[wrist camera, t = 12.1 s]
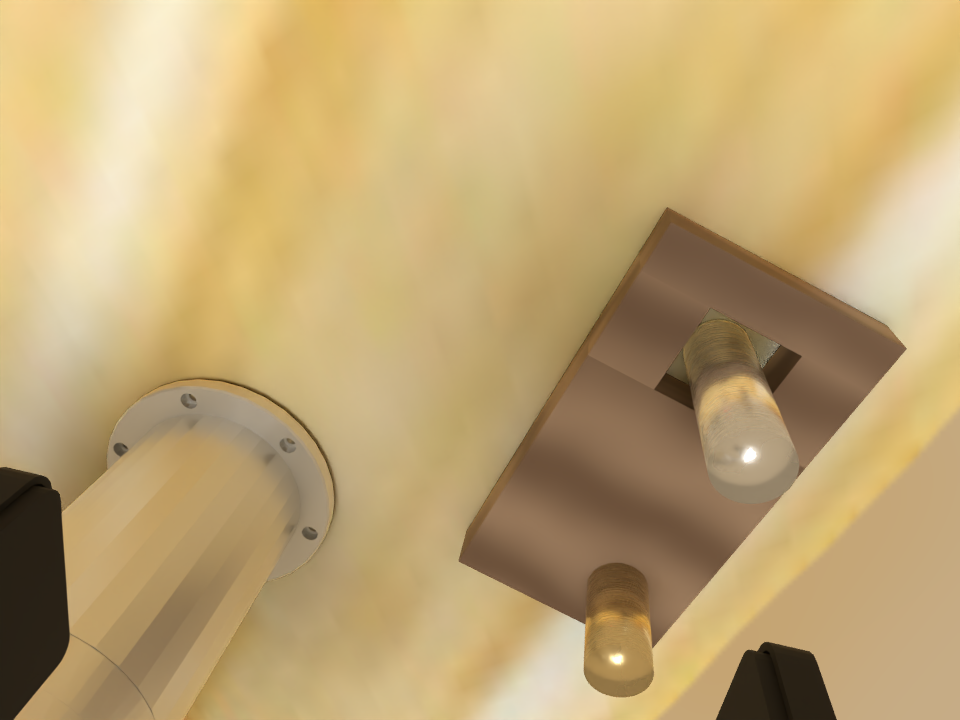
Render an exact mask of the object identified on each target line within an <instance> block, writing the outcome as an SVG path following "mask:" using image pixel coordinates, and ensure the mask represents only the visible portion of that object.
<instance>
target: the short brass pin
mask: <svg viewBox="0 0 960 720" xmlns="http://www.w3.org/2000/svg"><path fill="white" fill-rule="evenodd" d="M584 675H585V677H586V679H587V681H588V682H589V684H590V685H591V686H592V687H593V688H595V689H596V690H597V691H599V692H601V693H603V694H606V695H609V696H613V697H630V696H634V695H637V694H639V693H641V692H643V691H644V690H645V689H647V688H648V687H649V685H650V684H651V682H652V680H653V675H654V671H653V655H652V640H651V624H650V609H649V593H648V583H647V580H646V578H645V577H644V575H643V574H642V573H641V572H640V571H639V570H638V569H636V568H634V567H632V566H630V565H627V564H623V563H608V564H605V565H602V566H600V567H598V568H597V569H595V570H594V571H593V572H592V573H591V575H590V576H589V578H588V582H587V601H586V626H585V650H584Z"/></svg>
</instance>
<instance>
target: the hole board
mask: <svg viewBox="0 0 960 720" xmlns="http://www.w3.org/2000/svg"><path fill="white" fill-rule="evenodd" d="M710 308H712V309H714V310H716V311H718V312H720V313H722V314H724V315H725V316H727V317H729V318H731V319H733V320H735V321H737V322H739V323H741V324H742V325H744V326H746V327H748V328H750V329H752V330H754V331H756V332H757V333H759V334H761V335H763V336H765V337H767V338H769V339H771V340H773V341H774V342H776V343H778V344H780V345H781V346H780V347H779V348H778V350H777V351H776V352H775V354H774V355H773V356H772V358H771V359H770V360H769V361H768V363H767V364H766V365H765V367H764V368H763V369H762V370H763V373H764V375H765V378H766V380H767V382H768V385H769V387H770V390H771V392H772V394H773V397H774V399H775V402H776V404H777V406H778V409H779V411H780V414H781V416H782V419H783V421H784V423H785V426H786V428H787V431H788V433H789V435H790V438H791V440H792V443H793V445H794V447H795V450H796V452H797V455H798V459H799V471H798V475H797V477H798V476H799V475H800V474H801V473H802V471H803V470H804V469H805V468H806V467H807V466H808V464H809V463H810V462H811V461H812V460H813V459H814V457H815V456H816V455H817V454H818V453H819V451H820V450H821V449H822V448H823V447H824V446H825V444H826V443H827V442H828V441H829V440H830V439H831V437H832V436H833V435H834V434H835V433H836V431H837V430H838V429H839V428H840V427H841V426H842V424H843V423H844V422H845V421H846V420H847V418H848V417H849V416H850V415H851V414H852V413H853V411H854V410H855V409H856V408H857V407H858V406H859V404H860V403H861V402H862V401H863V400H864V398H865V397H866V396H867V395H868V394H869V393H870V391H871V390H872V389H873V388H874V387H875V385H876V384H877V383H878V382H879V381H880V380H881V378H882V377H883V376H884V375H885V374H886V373H887V371H888V370H889V369H890V368H891V367H892V365H893V364H894V363H895V362H896V361H897V360H898V358H899V357H900V356H901V355H902V354H903V352H904V351H905V350H906V349H907V348H906V347H905V346H904V345H903V344H902V343H901V341H900V340H899V339H898V338H897V337H896V336H895V334H894V333H893V332H892V331H891V330H890V329H889V327H888V326H887V325H885V324H883V323H881V322H879V321H877V320H875V319H873V318H872V317H870V316H868V315H866V314H864V313H862V312H860V311H859V310H857V309H855V308H853V307H851V306H849V305H847V304H846V303H844V302H842V301H840V300H838V299H836V298H834V297H833V296H831V295H829V294H827V293H825V292H823V291H821V290H820V289H818V288H816V287H814V286H812V285H810V284H808V283H807V282H805V281H803V280H801V279H799V278H797V277H795V276H794V275H792V274H790V273H788V272H786V271H784V270H782V269H781V268H779V267H777V266H775V265H773V264H771V263H769V262H768V261H766V260H764V259H762V258H760V257H758V256H756V255H755V254H753V253H751V252H749V251H747V250H745V249H743V248H742V247H740V246H738V245H736V244H734V243H732V242H730V241H729V240H727V239H725V238H723V237H721V236H719V235H717V234H716V233H714V232H712V231H710V230H708V229H706V228H704V227H703V226H701V225H699V224H697V223H695V222H693V221H691V220H690V219H688V218H686V217H684V216H682V215H680V214H678V213H677V212H675V211H673V210H671V209H669V208H667V209H666V210H665V212H664V213H663V215H662V217H661V218H660V220H659V222H658V223H657V225H656V226H655V228H654V230H653V231H652V233H651V234H650V236H649V238H648V239H647V241H646V243H645V244H644V246H643V247H642V249H641V251H640V252H639V254H638V255H637V257H636V259H635V260H634V262H633V264H632V265H631V267H630V268H629V270H628V272H627V273H626V275H625V276H624V278H623V280H622V281H621V283H620V285H619V286H618V288H617V289H616V291H615V293H614V294H613V296H612V297H611V299H610V301H609V302H608V304H607V306H606V307H605V309H604V310H603V312H602V314H601V315H600V317H599V318H598V320H597V322H596V323H595V325H594V326H593V328H592V330H591V331H590V333H589V335H588V336H587V338H586V339H585V341H584V343H583V344H582V346H581V347H580V349H579V351H578V352H577V354H576V356H575V357H574V359H573V360H572V362H571V364H570V365H569V367H568V368H567V370H566V372H565V373H564V375H563V377H562V378H561V380H560V381H559V383H558V385H557V386H556V388H555V389H554V391H553V393H552V394H551V396H550V398H549V399H548V401H547V402H546V404H545V406H544V407H543V409H542V410H541V412H540V414H539V415H538V417H537V419H536V420H535V422H534V423H533V425H532V427H531V428H530V430H529V431H528V433H527V435H526V436H525V438H524V439H523V441H522V443H521V444H520V446H519V448H518V449H517V451H516V452H515V454H514V456H513V457H512V459H511V460H510V462H509V464H508V465H507V467H506V469H505V470H504V472H503V473H502V475H501V477H500V478H499V480H498V481H497V483H496V485H495V486H494V488H493V490H492V491H491V493H490V494H489V496H488V498H487V499H486V501H485V502H484V504H483V506H482V507H481V509H480V511H479V512H478V514H477V515H476V517H475V519H474V520H473V522H472V523H471V525H470V527H469V528H468V530H467V532H466V535H465V539H464V543H463V546H462V550H461V554H460V557H459V562H461V563H463V564H465V565H467V566H469V567H471V568H473V569H475V570H477V571H479V572H481V573H483V574H485V575H487V576H489V577H491V578H493V579H495V580H497V581H499V582H501V583H503V584H505V585H507V586H509V587H511V588H513V589H515V590H517V591H519V592H521V593H523V594H525V595H527V596H529V597H531V598H533V599H535V600H537V601H539V602H541V603H543V604H546V605H548V606H550V607H552V608H554V609H556V610H558V611H560V612H562V613H564V614H566V615H568V616H570V617H572V618H574V619H576V620H578V621H580V622H582V623H584V624H586V601H587V582H588V578H589V576H590V575H591V573H592V572H593V571H594V570H595V569H597V568H598V567H600V566H602V565H605V564H608V563H623V564H627V565H630V566H632V567H634V568H636V569H638V570H639V571H640V572H641V573H642V574H643V575H644V577H645V578H646V580H647V583H648V593H649V609H650V624H651V640H652V648H653V647H654V646H655V645H656V644H657V642H658V641H659V640H660V639H661V638H662V636H663V635H664V634H665V633H666V632H667V631H668V629H669V628H670V627H671V626H672V625H673V623H674V622H675V621H676V620H677V619H678V618H679V616H680V615H681V614H682V613H683V612H684V611H685V609H686V608H687V607H688V606H689V605H690V603H691V602H692V601H693V600H694V599H695V598H696V596H697V595H698V594H699V593H700V592H701V590H702V589H703V588H704V587H705V586H706V585H707V583H708V582H709V581H710V580H711V579H712V578H713V576H714V575H715V574H716V573H717V572H718V570H719V569H720V568H721V567H722V566H723V565H724V563H725V562H726V561H727V560H728V559H729V558H730V556H731V555H732V554H733V553H734V552H735V550H736V549H737V548H738V547H739V546H740V545H741V543H742V542H743V541H744V540H745V539H746V537H747V536H748V535H749V534H750V533H751V532H752V530H753V529H754V528H755V527H756V526H757V525H758V523H759V522H760V521H761V520H762V519H763V517H764V516H765V515H766V514H767V513H768V512H769V510H770V509H771V508H772V507H773V506H774V504H775V503H776V502H777V501H778V500H779V499H780V497H781V496H782V495H783V494H782V495H781V496H779V497H777V498H775V499H773V500H771V501H768V502H764V503H758V504H744V503H739V502H735V501H732V500H730V499H728V498H726V497H724V496H723V495H721V494H720V493H719V492H718V491H717V490H716V489H715V488H714V487H713V485H712V483H711V481H710V479H709V476H708V471H707V467H706V462H705V457H704V452H703V447H702V443H701V438H700V433H699V428H698V423H697V419H696V414H695V409H694V404H693V399H692V395H691V390H690V386H689V385H687V384H685V383H683V382H681V381H680V380H678V379H676V378H674V377H672V376H670V375H668V374H666V372H667V370H668V369H669V367H670V366H671V364H672V363H673V361H674V360H675V359H676V357H677V356H678V354H679V353H680V351H681V350H682V348H683V347H684V345H685V344H686V343H687V341H688V340H689V338H690V337H691V335H692V334H693V332H694V331H695V330H696V328H697V327H698V325H699V324H700V322H701V321H702V319H703V318H704V317H705V315H706V314H707V312H708V311H709V309H710ZM797 477H796V479H797Z"/></svg>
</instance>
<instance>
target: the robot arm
mask: <svg viewBox="0 0 960 720" xmlns="http://www.w3.org/2000/svg"><path fill="white" fill-rule="evenodd" d="M333 508H334V492H333V484H332V479H331V476H330V473H329V470H328V467H327V464H326V461H325V459H324V458H323V456H322V454H321V452H320V450H319V449H318V447H317V445H316V443H315V442H314V441H313V439H312V438H311V437H310V436H309V434H308V433H307V432H306V431H305V429H304V428H303V427H302V426H301V425H300V424H299V423H298V422H297V421H296V420H295V419H294V418H293V417H291V416H290V415H289V414H288V413H287V412H286V411H285V410H284V409H282V408H280V407H279V406H277V405H276V404H274V403H273V402H271V401H270V400H268V399H267V398H265V397H263V396H261V395H259V394H257V393H254V392H252V391H250V390H248V389H246V388H243V387H240V386H236V385H233V384H229V383H225V382H221V381H213V380H202V379H195V380H184V381H176V382H173V383H170V384H167V385H163V386H160V387H158V388H156V389H154V390H153V391H151V392H149V393H147V394H146V395H144V396H142V397H141V398H140V399H139V400H138V401H137V402H136V403H134V404H133V405H132V406H131V407H129V408H128V409H127V410H126V412H125V413H124V414H123V415H122V417H121V418H120V419H119V420H118V422H117V423H116V425H115V428H114V430H113V432H112V434H111V437H110V439H109V445H108V451H107V471H106V472H105V473H104V474H103V475H102V476H100V477H99V478H98V479H97V480H96V481H95V482H94V483H93V484H92V485H91V486H90V487H89V488H88V489H86V490H85V491H84V492H83V493H82V494H81V495H80V496H79V497H78V498H77V499H76V500H75V501H74V502H73V503H71V504H70V505H69V506H68V507H67V508H66V509H65V510H64V511H63V512H61V499H60V494H59V493H58V491H56V490H53V489H52V487H51V482H50V481H49V480H48V478H47V477H44V476H42V475H37V474H33V473H28V472H24V471H20V470H15V469H11V468H7V467H3V468H0V720H184V718H185V717H186V715H187V713H188V711H189V710H190V708H191V706H192V705H193V703H194V701H195V700H196V698H197V696H198V695H199V693H200V691H201V690H202V688H203V686H204V685H205V683H206V681H207V680H208V678H209V676H210V674H211V673H212V671H213V669H214V668H215V666H216V664H217V663H218V661H219V659H220V658H221V656H222V654H223V653H224V651H225V649H226V648H227V646H228V644H229V642H230V641H231V639H232V637H233V636H234V634H235V632H236V631H237V629H238V627H239V626H240V624H241V622H242V621H243V619H244V617H245V616H246V614H247V612H248V611H249V609H250V607H251V605H252V604H253V602H254V600H255V599H256V597H257V595H258V594H259V592H260V590H261V589H262V587H263V585H264V584H265V582H266V581H271V580H276V579H279V578H281V577H283V576H286V575H288V574H290V573H293V572H294V571H296V570H297V569H298V568H300V567H301V566H302V565H304V564H305V563H307V562H308V560H309V559H310V558H311V557H312V556H313V555H314V553H315V552H316V551H317V550H318V548H319V547H320V545H321V543H322V541H323V539H324V538H325V536H326V534H327V532H328V529H329V526H330V523H331V520H332V517H333ZM716 720H837V719H836V716H835V714H834V711H833V708H832V705H831V702H830V699H829V696H828V693H827V690H826V687H825V684H824V682H823V679H822V676H821V673H820V670H819V667H818V664H817V662H816V660H815V657H814V655H813V654H812V653H810V652H809V651H805V650H800V649H796V648H792V647H787V646H783V645H779V644H774V643H769V642H764V643H763V644H762V645H761V646H760V648H759V650H758V651H753V650H747V651H746V652H745V653H744V655H743V657H742V659H741V662H740V664H739V667H738V669H737V671H736V673H735V676H734V678H733V680H732V683H731V685H730V688H729V690H728V692H727V695H726V697H725V699H724V702H723V704H722V707H721V709H720V711H719V714H718V716H717V718H716Z"/></svg>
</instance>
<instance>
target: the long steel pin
mask: <svg viewBox="0 0 960 720" xmlns="http://www.w3.org/2000/svg"><path fill="white" fill-rule="evenodd" d="M683 356H684V361H685V366H686V371H687V375H688V380H689V385H690V390H691V395H692V399H693V404H694V409H695V414H696V419H697V423H698V428H699V433H700V438H701V443H702V447H703V452H704V457H705V462H706V467H707V471H708V476H709V479H710V481H711V483H712V485H713V487H714V488H715V489H716V490H717V491H718V492H719V493H720V494H721V495H723V496H724V497H726V498H728V499H730V500H732V501H735V502H739V503H744V504H758V503H764V502H768V501H771V500H773V499H775V498H777V497H779V496H781V495H782V494H784V493H785V492H786V491H787V490H788V489H789V488H790V487H791V486H792V484H793V483H794V481H795V480H796V477H797V475H798V471H799V459H798V455H797V452H796V450H795V447H794V445H793V443H792V440H791V438H790V435H789V433H788V431H787V428H786V426H785V423H784V421H783V419H782V416H781V414H780V411H779V409H778V406H777V404H776V402H775V399H774V397H773V394H772V392H771V390H770V387H769V385H768V382H767V380H766V378H765V375H764V373H763V370H762V368H761V365H760V363H759V361H758V358H757V356H756V353H755V351H754V349H753V346H752V344H751V341H750V339H749V337H748V335H747V333H746V332H745V331H744V329H742V328H741V327H740V326H739V325H737V324H735V323H733V322H731V321H727V320H711V321H707V322H704V323H702V324H700V325H698V327H697V328H696V330H695V331H694V332H693V334H692V335H691V337H690V338H689V340H688V341H687V343H686V344H685V345H684V347H683Z"/></svg>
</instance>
